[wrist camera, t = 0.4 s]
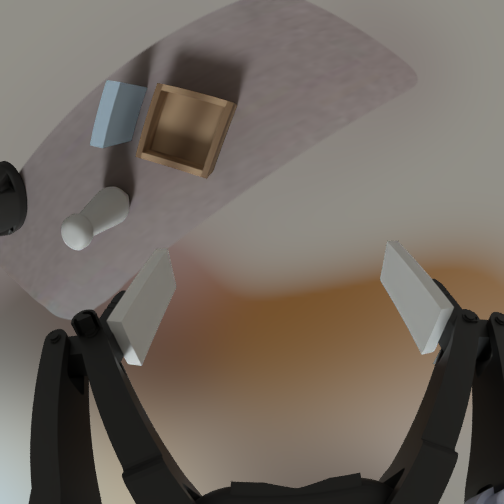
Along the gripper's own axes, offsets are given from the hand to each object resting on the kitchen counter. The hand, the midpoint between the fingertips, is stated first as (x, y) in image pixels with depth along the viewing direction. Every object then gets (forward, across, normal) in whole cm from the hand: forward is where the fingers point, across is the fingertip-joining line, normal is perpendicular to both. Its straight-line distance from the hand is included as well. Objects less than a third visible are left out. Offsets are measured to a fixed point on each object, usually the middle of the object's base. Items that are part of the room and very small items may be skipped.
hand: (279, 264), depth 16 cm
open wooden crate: (+22, -10, +8) cm, 26 cm away
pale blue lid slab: (+22, -18, +12) cm, 31 cm away
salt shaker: (+22, -23, -1) cm, 32 cm away
